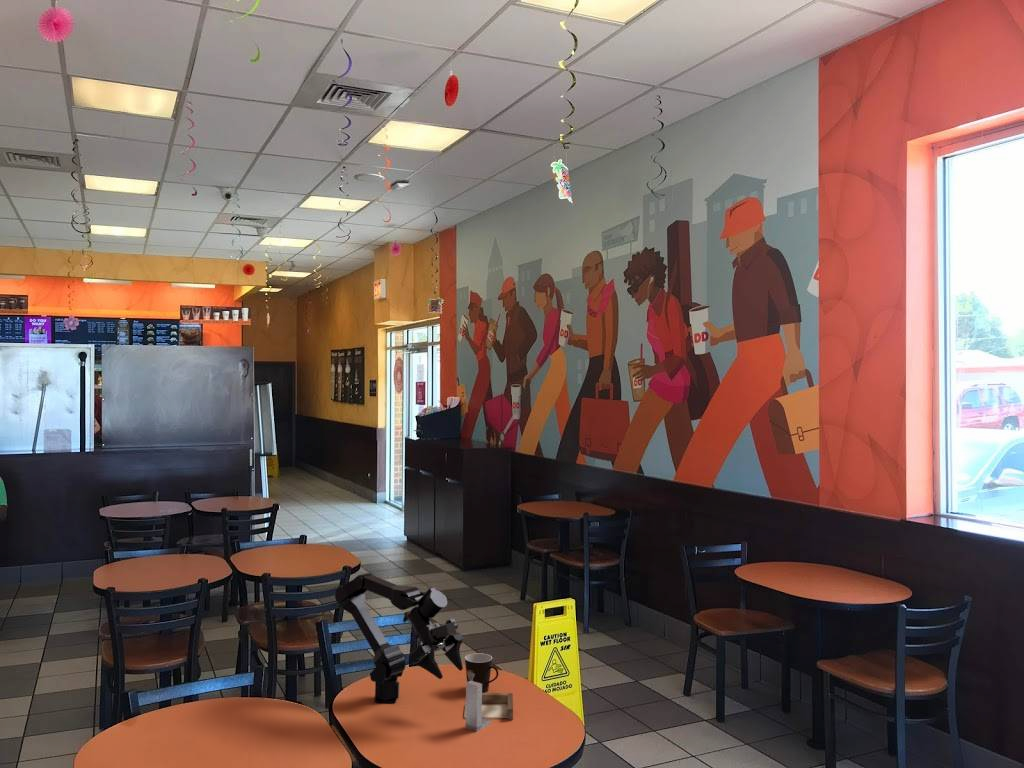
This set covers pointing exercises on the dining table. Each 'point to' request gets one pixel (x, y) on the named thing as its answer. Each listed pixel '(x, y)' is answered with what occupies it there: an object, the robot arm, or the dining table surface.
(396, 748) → the dining table surface
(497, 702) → the corner fixture
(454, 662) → the robot arm
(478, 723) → the bracket
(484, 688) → the coffee mug
